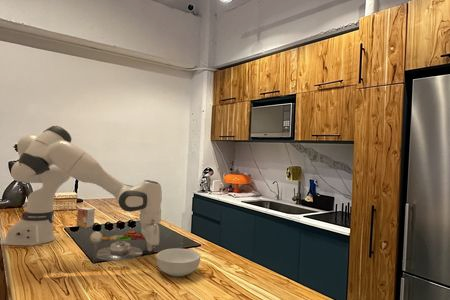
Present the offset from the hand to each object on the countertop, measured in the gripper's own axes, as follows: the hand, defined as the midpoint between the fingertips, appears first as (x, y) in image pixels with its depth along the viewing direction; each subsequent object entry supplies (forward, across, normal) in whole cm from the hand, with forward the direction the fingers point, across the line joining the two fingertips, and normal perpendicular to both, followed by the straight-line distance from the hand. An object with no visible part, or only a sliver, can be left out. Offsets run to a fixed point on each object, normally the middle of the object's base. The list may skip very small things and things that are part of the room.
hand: (149, 250), depth 136 cm
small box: (+3, +66, +24) cm, 71 cm away
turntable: (+3, +7, +10) cm, 13 cm away
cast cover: (+2, +7, +11) cm, 14 cm away
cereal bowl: (+4, -18, -7) cm, 20 cm away
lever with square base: (+4, -2, +22) cm, 22 cm away
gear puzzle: (+4, +34, +5) cm, 34 cm away
